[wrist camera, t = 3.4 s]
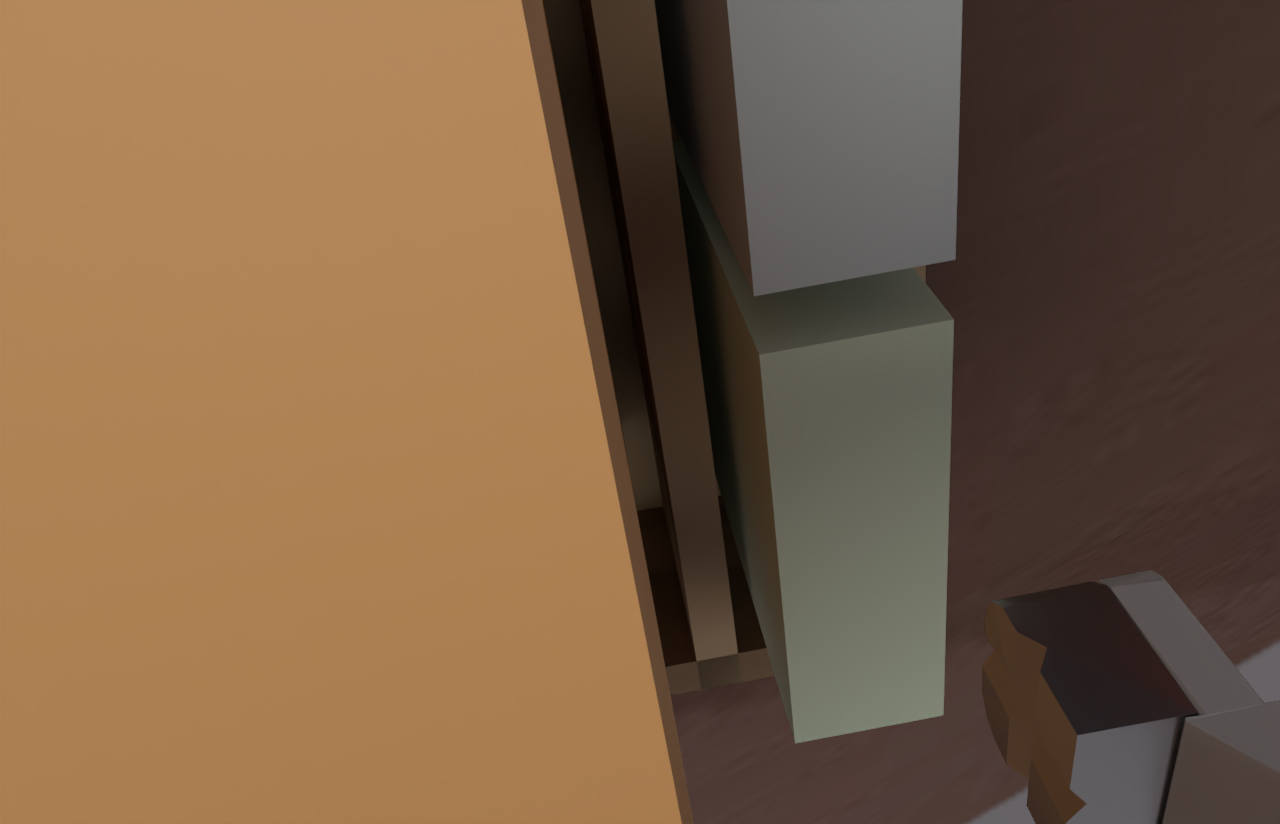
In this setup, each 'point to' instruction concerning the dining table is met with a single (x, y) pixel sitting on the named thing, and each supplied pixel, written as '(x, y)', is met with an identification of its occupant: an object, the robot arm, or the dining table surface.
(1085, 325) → the dining table surface
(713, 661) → the rack
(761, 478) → the offcut sage
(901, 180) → the offcut slate
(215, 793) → the tall sheet
